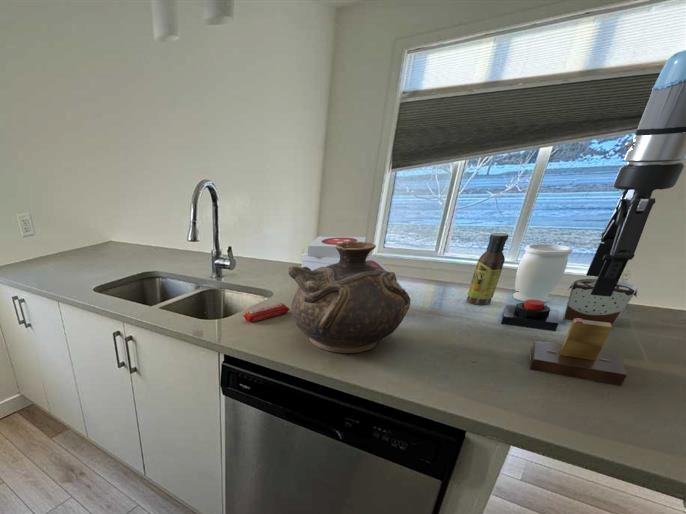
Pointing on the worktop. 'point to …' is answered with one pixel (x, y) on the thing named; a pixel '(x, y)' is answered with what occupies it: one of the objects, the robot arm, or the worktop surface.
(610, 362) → the plate
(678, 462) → the worktop surface
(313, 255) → the pizza boxes
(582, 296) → the food container
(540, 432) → the worktop surface
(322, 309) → the vessel
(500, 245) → the sauce bottle
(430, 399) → the worktop surface
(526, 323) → the set button box
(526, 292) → the jar
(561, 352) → the thumb turn
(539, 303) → the set button
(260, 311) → the candy bar
